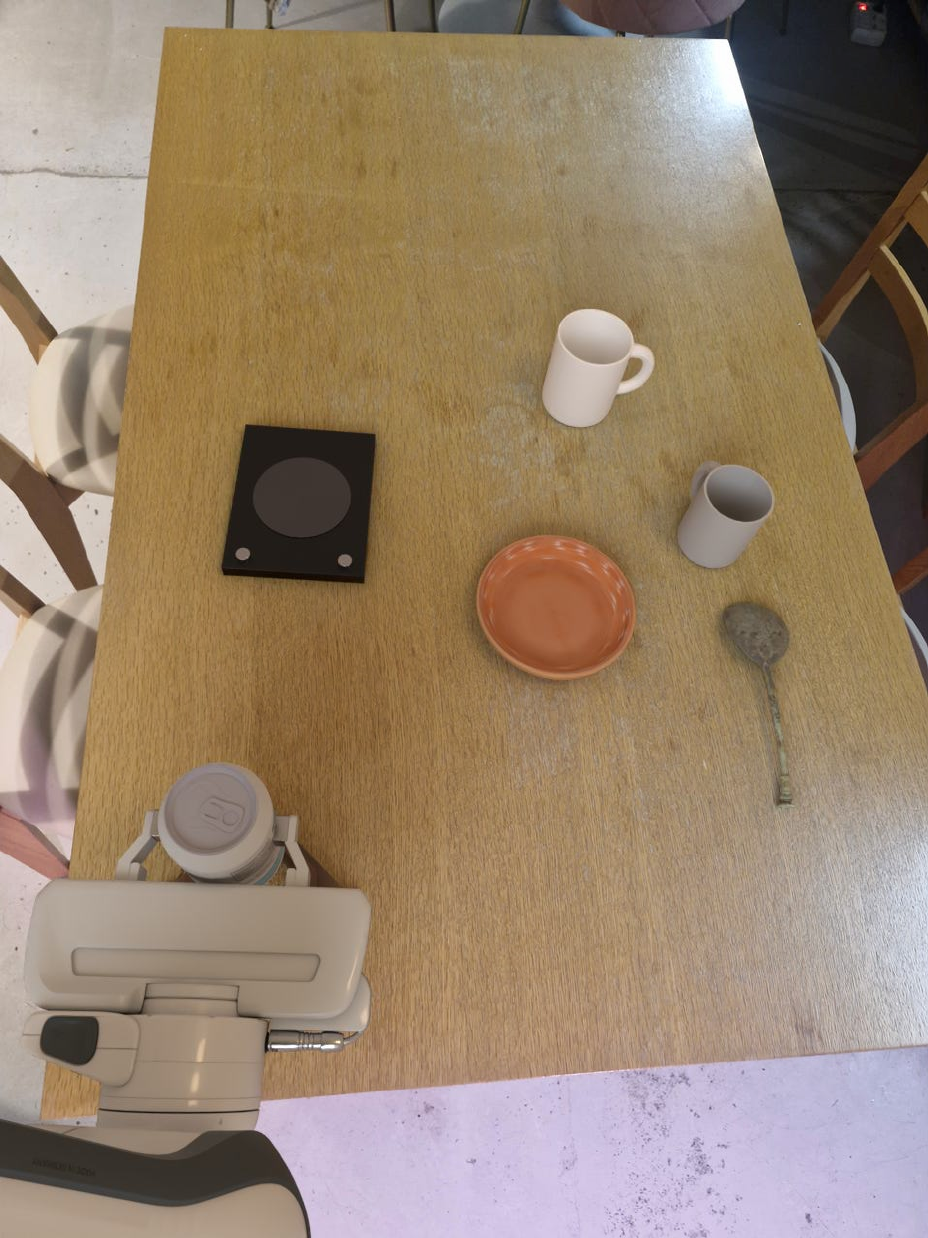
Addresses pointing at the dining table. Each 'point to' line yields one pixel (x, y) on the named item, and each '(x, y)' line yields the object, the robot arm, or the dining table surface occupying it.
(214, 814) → the beverage can
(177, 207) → the dining table surface
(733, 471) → the cup
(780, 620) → the soupspoon
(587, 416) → the mug
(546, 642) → the saucer
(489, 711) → the dining table surface
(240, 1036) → the robot arm
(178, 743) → the dining table surface
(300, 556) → the hob
